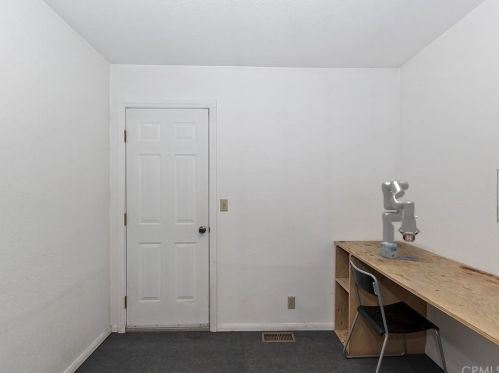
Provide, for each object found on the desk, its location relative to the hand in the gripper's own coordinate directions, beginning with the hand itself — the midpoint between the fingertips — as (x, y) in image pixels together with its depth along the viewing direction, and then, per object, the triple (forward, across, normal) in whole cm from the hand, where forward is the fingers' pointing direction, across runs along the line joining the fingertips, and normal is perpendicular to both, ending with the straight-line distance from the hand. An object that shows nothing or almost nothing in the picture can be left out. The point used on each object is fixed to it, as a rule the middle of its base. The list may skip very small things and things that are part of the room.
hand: (408, 240), depth 212 cm
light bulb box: (+14, +14, +2) cm, 20 cm away
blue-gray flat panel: (+14, 0, 0) cm, 14 cm away
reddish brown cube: (+1, 0, 0) cm, 1 cm away
